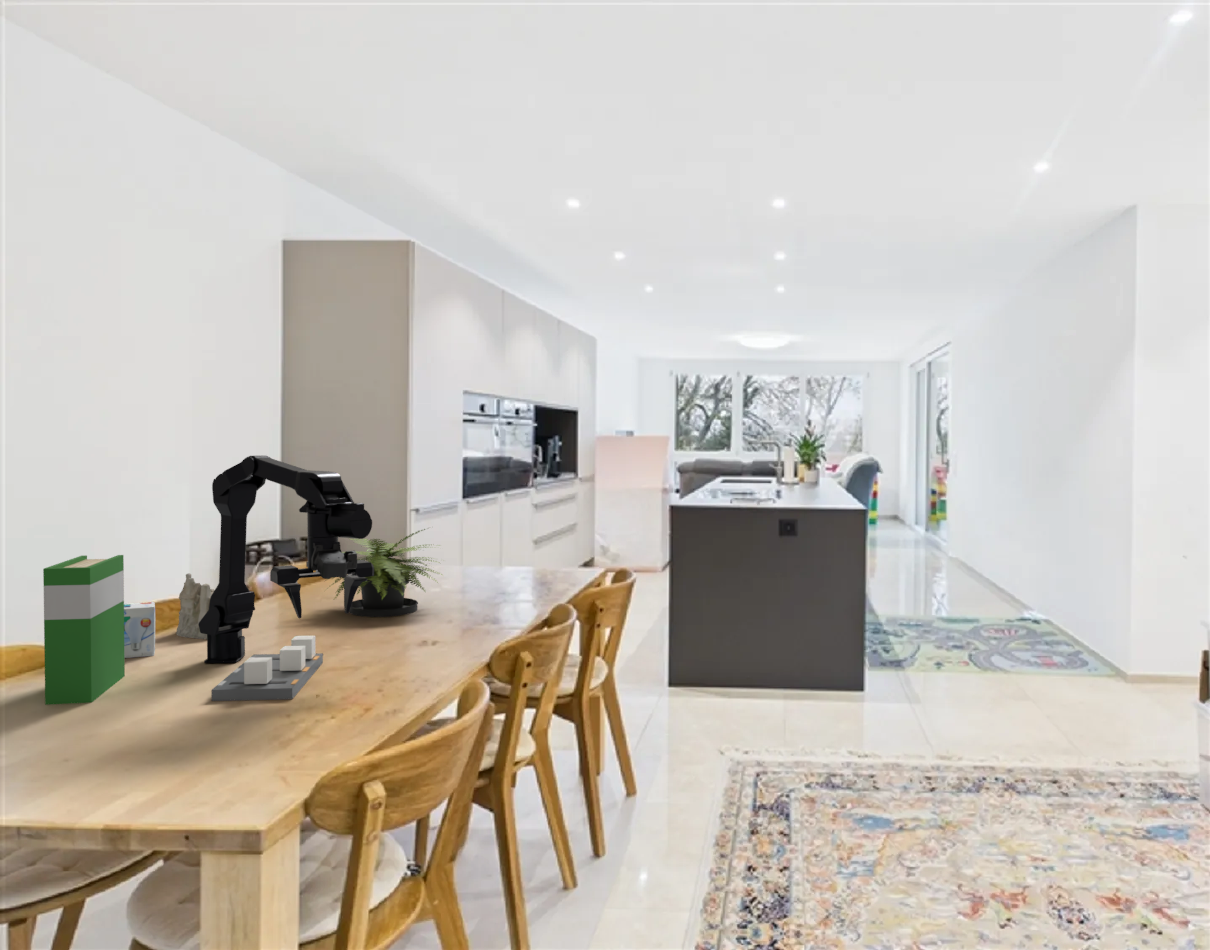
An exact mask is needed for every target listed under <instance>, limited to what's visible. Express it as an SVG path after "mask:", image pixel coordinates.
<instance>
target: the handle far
mask: <svg viewBox="0 0 1210 950" xmlns="http://www.w3.org/2000/svg"><path fill="white" fill-rule="evenodd" d="M290 641H291V642H290V643H291V645H290V646H305V659H312V658H313V657H314V656H315V654H316V635H295V636H294V637H293V638H292V639H290Z"/></svg>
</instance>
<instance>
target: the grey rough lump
mask: <svg viewBox="0 0 1210 950" xmlns="http://www.w3.org/2000/svg"><path fill="white" fill-rule="evenodd" d="M214 591H215V589H214V588H211V585H210V584H209V583H204V584H201V583H200V582H195V578H192V574H191V573H186V574H185V581H184V582H183V587H182V589H181V592H180V593H179V595H178V596H179V597H178V599H179V602H180V610H179V611H178V625H177V628H176V636H178V637H182V638H192V639H198V640H207V634H202V633H200V629H199V625H198V624H199V622H200V621H201V619H202V618H203V617H204V615H205V614H206V613H207V611H208V610H209V604H210V598H211V595H212V594H213V592H214Z"/></svg>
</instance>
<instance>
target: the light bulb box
mask: <svg viewBox="0 0 1210 950" xmlns="http://www.w3.org/2000/svg"><path fill="white" fill-rule="evenodd" d="M155 651H156V603H155V602H154V601H146V602H133V603H129V602H128V603H124V659H129V658H141V657H154V656H155Z"/></svg>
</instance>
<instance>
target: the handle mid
mask: <svg viewBox="0 0 1210 950" xmlns="http://www.w3.org/2000/svg"><path fill="white" fill-rule="evenodd" d="M279 654H280V671H297V670H302V669H303V668H304V667H305V646H291V645H284V646H283V647H282V648H280V650H279Z"/></svg>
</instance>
